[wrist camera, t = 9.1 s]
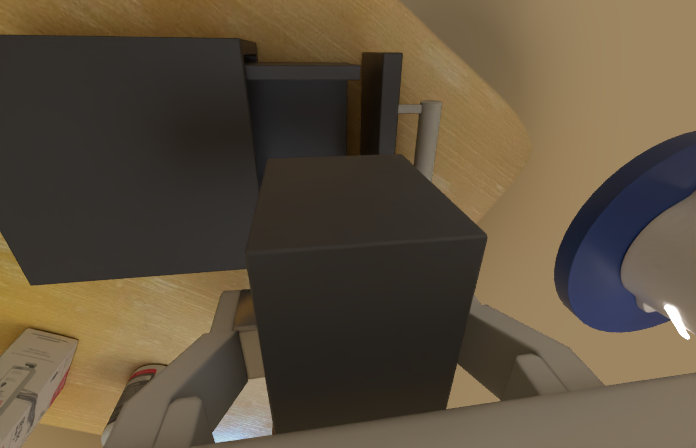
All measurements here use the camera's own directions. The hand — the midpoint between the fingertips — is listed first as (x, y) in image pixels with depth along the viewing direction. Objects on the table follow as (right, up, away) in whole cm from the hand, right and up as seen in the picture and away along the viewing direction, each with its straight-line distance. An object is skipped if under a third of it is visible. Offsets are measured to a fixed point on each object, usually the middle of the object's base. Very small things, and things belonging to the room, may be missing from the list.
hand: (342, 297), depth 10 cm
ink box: (-33, -12, +25) cm, 43 cm away
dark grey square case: (-15, +9, +17) cm, 24 cm away
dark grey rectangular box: (0, +1, +1) cm, 2 cm away
